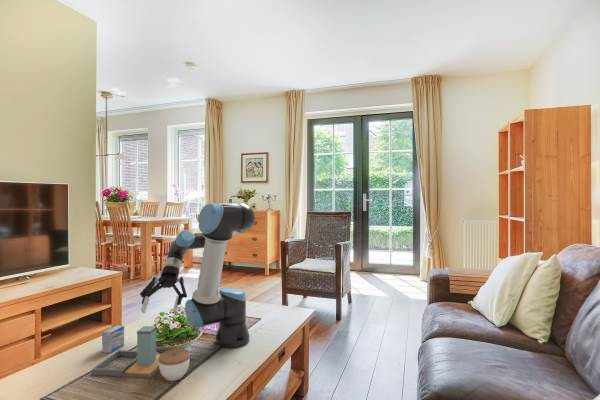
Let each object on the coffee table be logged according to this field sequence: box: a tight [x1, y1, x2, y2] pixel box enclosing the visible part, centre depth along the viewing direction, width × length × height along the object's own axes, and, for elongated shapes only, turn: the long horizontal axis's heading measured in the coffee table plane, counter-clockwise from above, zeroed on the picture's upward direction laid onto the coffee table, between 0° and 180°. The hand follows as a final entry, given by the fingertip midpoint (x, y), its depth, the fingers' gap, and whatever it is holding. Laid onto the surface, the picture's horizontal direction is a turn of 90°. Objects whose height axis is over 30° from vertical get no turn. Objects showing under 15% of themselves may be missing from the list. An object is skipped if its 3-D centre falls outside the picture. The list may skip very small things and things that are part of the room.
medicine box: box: [101, 324, 125, 354], centre depth 145 cm, size 8×4×9 cm, turn 168°
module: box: [136, 325, 157, 366], centre depth 130 cm, size 5×5×13 cm
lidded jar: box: [159, 348, 191, 382], centre depth 123 cm, size 11×11×9 cm
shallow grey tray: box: [91, 349, 137, 377], centre depth 131 cm, size 12×16×2 cm
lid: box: [121, 353, 161, 379], centre depth 130 cm, size 11×16×1 cm
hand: (158, 311), depth 146 cm, fingers open, 13 cm apart
